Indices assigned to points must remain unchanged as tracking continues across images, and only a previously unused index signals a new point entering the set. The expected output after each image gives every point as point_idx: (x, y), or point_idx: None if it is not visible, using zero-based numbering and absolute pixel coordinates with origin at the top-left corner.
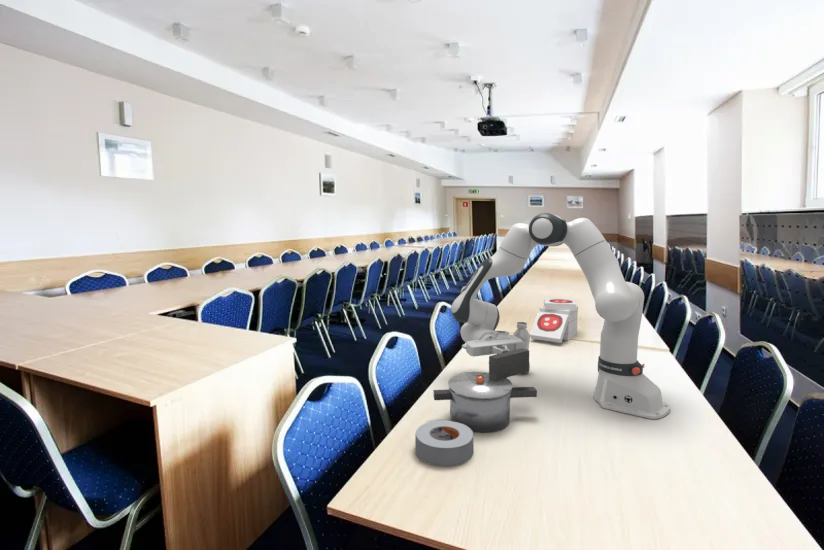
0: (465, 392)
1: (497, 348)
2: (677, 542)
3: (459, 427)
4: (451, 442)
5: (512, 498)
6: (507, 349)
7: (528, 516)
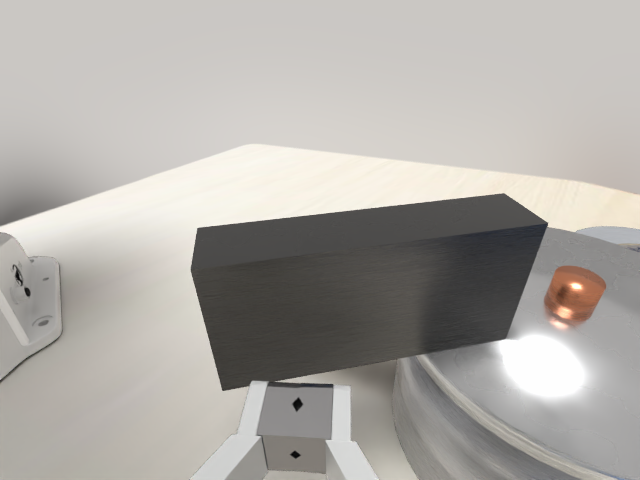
0: (636, 256)
1: (361, 465)
2: (348, 154)
3: None
4: (623, 237)
5: None
6: (265, 386)
7: (479, 185)
